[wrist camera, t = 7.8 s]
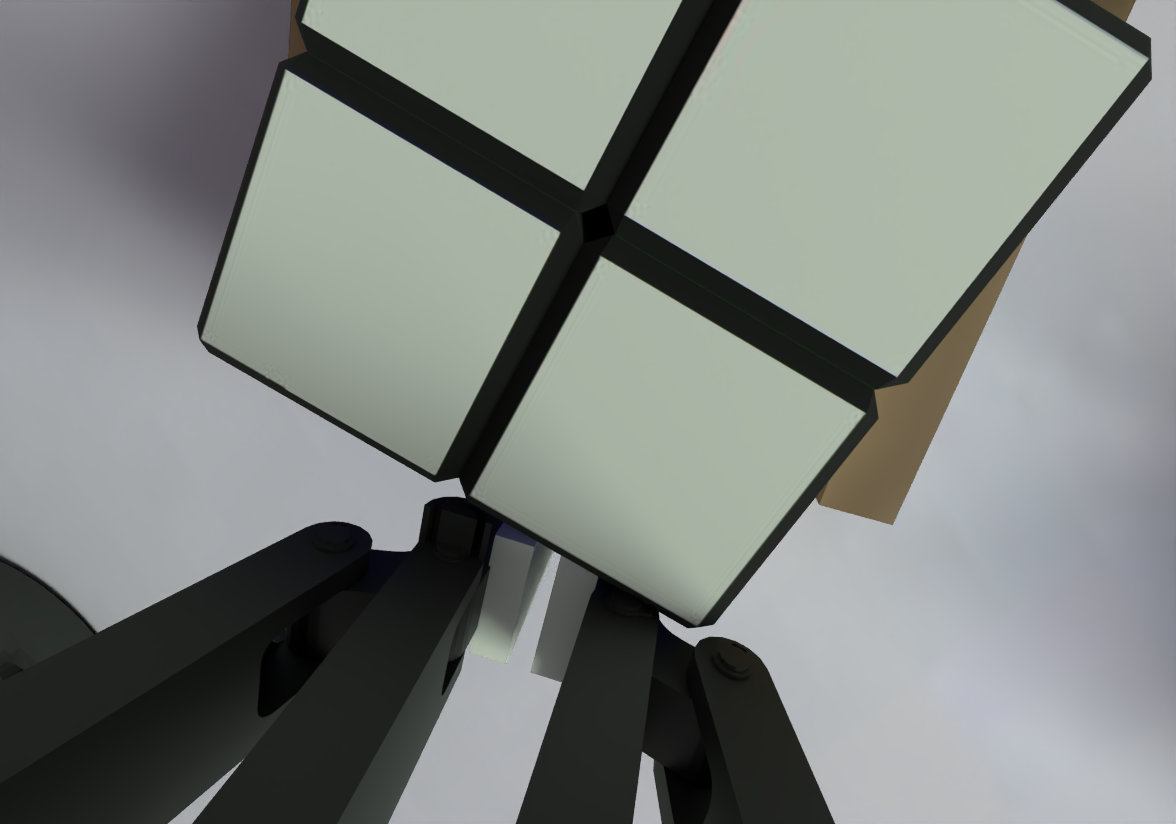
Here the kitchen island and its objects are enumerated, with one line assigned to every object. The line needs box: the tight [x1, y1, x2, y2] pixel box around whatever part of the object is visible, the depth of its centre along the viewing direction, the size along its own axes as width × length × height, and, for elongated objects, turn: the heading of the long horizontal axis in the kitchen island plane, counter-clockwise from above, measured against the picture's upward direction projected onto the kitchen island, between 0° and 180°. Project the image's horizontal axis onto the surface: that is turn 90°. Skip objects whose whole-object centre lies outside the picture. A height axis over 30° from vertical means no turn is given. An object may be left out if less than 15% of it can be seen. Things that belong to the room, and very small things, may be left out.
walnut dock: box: [288, 0, 1136, 525], centre depth 16 cm, size 18×14×3 cm
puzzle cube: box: [197, 0, 1152, 628], centre depth 13 cm, size 10×10×10 cm
